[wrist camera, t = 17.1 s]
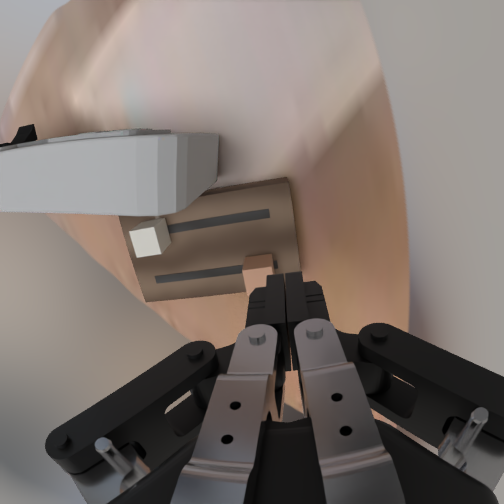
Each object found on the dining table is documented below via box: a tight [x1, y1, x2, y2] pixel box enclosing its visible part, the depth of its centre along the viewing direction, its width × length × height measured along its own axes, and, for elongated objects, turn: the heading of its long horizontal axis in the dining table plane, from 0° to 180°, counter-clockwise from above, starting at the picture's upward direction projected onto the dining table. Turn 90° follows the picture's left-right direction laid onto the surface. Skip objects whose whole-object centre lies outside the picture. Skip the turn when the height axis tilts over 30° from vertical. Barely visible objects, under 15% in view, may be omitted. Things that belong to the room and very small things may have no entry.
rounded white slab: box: [0, 124, 219, 216], centre depth 26 cm, size 29×8×18 cm, turn 86°
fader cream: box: [129, 218, 171, 258], centre depth 32 cm, size 3×3×4 cm
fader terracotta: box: [242, 254, 275, 296], centre depth 33 cm, size 3×3×4 cm
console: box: [118, 177, 301, 302], centre depth 37 cm, size 12×20×4 cm, turn 100°
